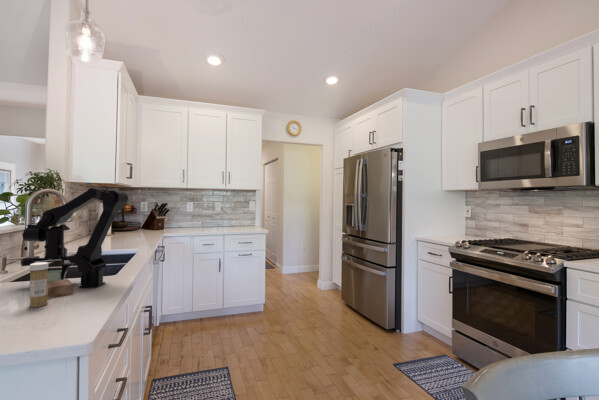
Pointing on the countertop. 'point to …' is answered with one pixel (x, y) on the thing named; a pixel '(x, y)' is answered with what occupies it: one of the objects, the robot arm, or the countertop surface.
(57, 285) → the walnut block
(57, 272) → the sage green cube
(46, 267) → the sprinkles bottle
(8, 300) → the countertop surface
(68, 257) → the robot arm
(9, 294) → the countertop surface
